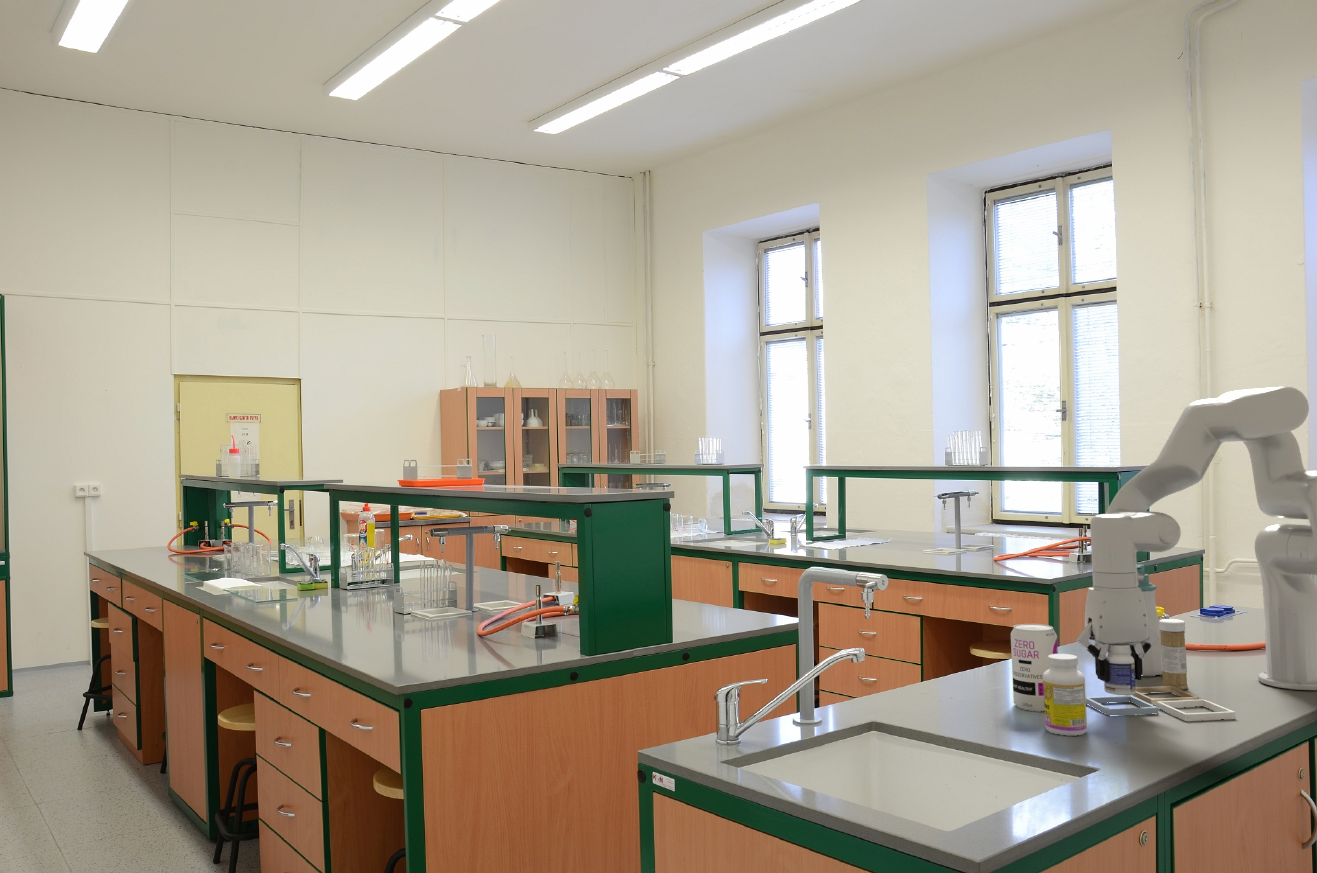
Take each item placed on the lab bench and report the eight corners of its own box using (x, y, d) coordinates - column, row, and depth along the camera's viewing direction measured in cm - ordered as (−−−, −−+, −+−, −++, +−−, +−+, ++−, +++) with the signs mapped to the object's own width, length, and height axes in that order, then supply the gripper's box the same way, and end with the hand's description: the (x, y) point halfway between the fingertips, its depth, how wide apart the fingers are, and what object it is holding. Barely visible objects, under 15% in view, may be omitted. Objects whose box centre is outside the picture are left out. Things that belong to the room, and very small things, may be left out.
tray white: (1204, 705, 177) (1203, 699, 177) (1235, 719, 168) (1235, 712, 168) (1156, 708, 176) (1156, 701, 177) (1185, 721, 168) (1185, 714, 168)
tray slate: (1131, 701, 181) (1131, 695, 181) (1158, 714, 172) (1158, 707, 172) (1085, 704, 181) (1084, 697, 181) (1109, 716, 172) (1109, 710, 172)
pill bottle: (1139, 696, 174) (1137, 646, 174) (1108, 695, 175) (1106, 646, 175) (1131, 689, 179) (1129, 641, 179) (1101, 688, 180) (1099, 641, 180)
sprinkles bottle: (1173, 684, 193) (1170, 617, 194) (1193, 689, 189) (1190, 620, 189) (1156, 687, 192) (1153, 619, 192) (1176, 691, 188) (1172, 623, 188)
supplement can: (1058, 702, 183) (1055, 623, 183) (1061, 714, 175) (1058, 631, 175) (1013, 700, 185) (1009, 622, 186) (1014, 711, 178) (1010, 630, 178)
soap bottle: (1117, 676, 202) (1112, 567, 202) (1114, 666, 211) (1109, 562, 211) (1170, 678, 198) (1164, 568, 199) (1164, 668, 207) (1159, 562, 208)
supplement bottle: (1048, 724, 169) (1045, 651, 169) (1089, 728, 165) (1086, 654, 166) (1042, 734, 163) (1039, 658, 163) (1084, 739, 159) (1081, 661, 160)
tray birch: (1171, 692, 187) (1171, 686, 187) (1199, 703, 178) (1199, 697, 178) (1126, 694, 187) (1126, 688, 187) (1152, 706, 178) (1151, 699, 178)
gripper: (1148, 577, 181) (1153, 673, 181) (1060, 580, 181) (1064, 677, 180) (1171, 581, 174) (1176, 682, 173) (1079, 585, 173) (1083, 686, 173)
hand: (1119, 678), depth 177 cm, fingers closed on pill bottle, 5 cm apart
